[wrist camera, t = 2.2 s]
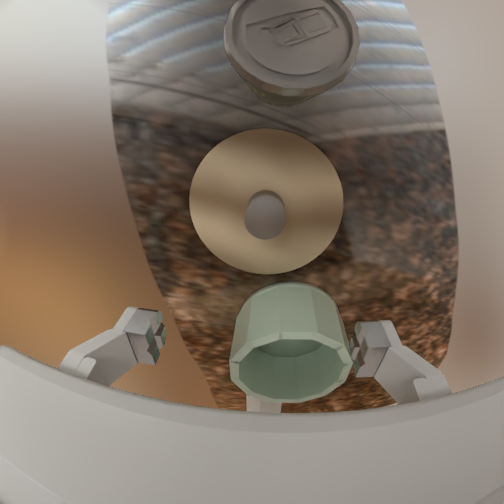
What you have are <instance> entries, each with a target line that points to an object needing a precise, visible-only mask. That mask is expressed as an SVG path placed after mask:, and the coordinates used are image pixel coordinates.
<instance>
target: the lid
mask: <svg viewBox="0 0 504 504" xmlns="http://www.w3.org/2000/svg"><path fill="white" fill-rule="evenodd" d="M343 203H344V202H343V191H342V186H341V182H340V180H339V177H338V174H337V172H336V170H335V168H334V167H333V165H332V163H331V162H330V161H329V159H328V158H327V157H326V155H325V154H324V153H323V152H322V151H321V150H320V149H319V148H317V147H316V146H315V145H313V144H312V143H311V142H309V141H308V140H306V139H304V138H302V137H301V136H299V135H296V134H294V133H291V132H288V131H284V130H279V129H270V128H263V129H253V130H247V131H244V132H241V133H238V134H235V135H233V136H231V137H229V138H227V139H225V140H224V141H222V142H221V143H219V144H218V145H216V146H215V147H214V148H213V149H212V150H211V151H210V152H209V153H208V154H207V155H206V156H205V158H204V159H203V160H202V162H201V163H200V165H199V166H198V168H197V170H196V172H195V175H194V177H193V180H192V184H191V188H190V196H189V206H190V213H191V218H192V221H193V224H194V227H195V229H196V231H197V233H198V235H199V237H200V238H201V240H202V241H203V243H204V244H205V245H206V247H207V248H208V249H209V250H210V251H211V252H212V253H213V254H214V255H216V256H217V257H218V258H219V259H221V260H222V261H224V262H225V263H227V264H229V265H231V266H233V267H235V268H237V269H240V270H243V271H246V272H251V273H257V274H278V273H284V272H288V271H292V270H295V269H297V268H300V267H302V266H304V265H306V264H308V263H309V262H311V261H312V260H314V259H315V258H316V257H318V256H319V255H320V254H321V253H322V252H323V251H324V250H325V249H326V248H327V247H328V245H329V244H330V243H331V241H332V240H333V238H334V236H335V234H336V233H337V231H338V228H339V225H340V222H341V219H342V214H343Z"/></svg>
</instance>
